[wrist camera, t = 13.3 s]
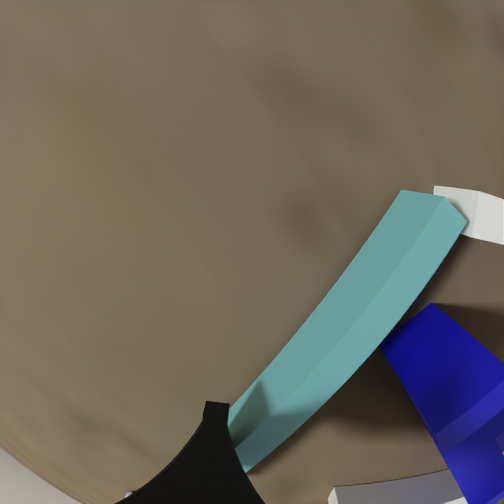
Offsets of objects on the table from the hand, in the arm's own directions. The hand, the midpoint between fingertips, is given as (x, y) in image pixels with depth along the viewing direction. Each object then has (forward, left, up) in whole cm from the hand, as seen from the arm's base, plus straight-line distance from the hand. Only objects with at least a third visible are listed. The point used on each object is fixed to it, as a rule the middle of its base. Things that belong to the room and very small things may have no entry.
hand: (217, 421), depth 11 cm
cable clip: (0, -12, -3) cm, 12 cm away
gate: (+1, -2, -2) cm, 3 cm away
